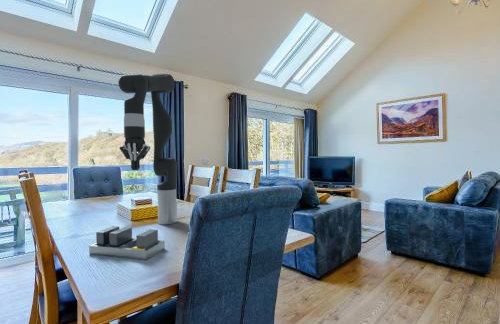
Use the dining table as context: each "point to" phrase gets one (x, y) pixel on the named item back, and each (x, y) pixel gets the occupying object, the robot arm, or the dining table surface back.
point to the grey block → (147, 239)
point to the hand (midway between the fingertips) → (135, 170)
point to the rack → (122, 244)
